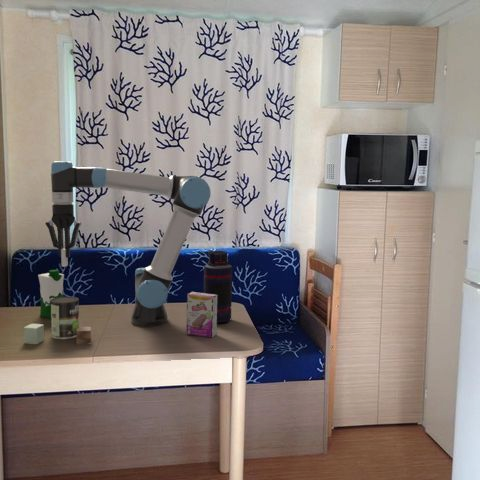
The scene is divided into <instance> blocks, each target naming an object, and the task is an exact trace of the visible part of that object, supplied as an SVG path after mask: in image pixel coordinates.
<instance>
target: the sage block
mask: <svg viewBox="0 0 480 480" xmlns="http://www.w3.org/2000/svg"><path fill="white" fill-rule="evenodd" d="M44 327H45V325H44V324H41V323H29V324H28V325H26V326H24V327H23V334H24V335H23V337H24V338H23V339H24V340H23V341H24V344H29V345H30V344H31V345H38V344H40V343H41V342H43V341H45V328H44Z"/></svg>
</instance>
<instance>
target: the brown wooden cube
mask: <svg viewBox="0 0 480 480" xmlns="http://www.w3.org/2000/svg"><path fill="white" fill-rule="evenodd" d="M76 332H77V337H76V345H86V344H87V345H89V344H88V343H91V344H92V327H91V326H79V327H77V331H76Z"/></svg>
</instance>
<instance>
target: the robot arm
mask: <svg viewBox="0 0 480 480" xmlns="http://www.w3.org/2000/svg"><path fill="white" fill-rule="evenodd" d="M50 177H51V181H50V183H51V198H52V199H51V203H52V207H51V208H52V209H51V210H52V216H51V219H50V220H49V221H46V222H45V226H46V227H47V229H48V232H49V235H50V240H51V242H52V246H53V248H56V249H57V250H58V257H59V258H61V260H60V261H61V267H64V268H65V267H68V265H69V261H68V260H69V259H68V258H70V256H71V248H74V247H75V246H76V241H77V238H78V232H79V229H80V227H81V226H82V222H81V221H78V220H76V218H75V211H74V209H75V208H74V204H73V203H74V188H85V189H87V188H90V189H91V188H94V189H99V188H105V189H111V190H112V189H113V190H120V191H128V192H136V193H142V194H150V195H156V196H163V197H164V196H165V197H167V198H168V199H169V200H173V202H172V207H173V212H172V214H171V216H170V218H169V222H168V223H167V226H166V228H165V230H164V233H163V234H162V237H161V240H160V242H159V245H158V247H157V249H156V251H155V254H154V257H153V259H152V261H151V264H150V265H148V266H146V267H139V268H136V269H135V271H134V273H135V274H134V279H135V281H134V282H135V283H134V286H135V290H134V292H135V298H134V301H135V302H134V307H133V310H132V313H131V316H130V317H131V318H130V319H131V321H130V323H131V324H132V325H134V326H139V327H145V328H146V327H158V326H162V325H165V324H166V323H168V320H169V319H168V314H167V310H166V307H165V303H166V301H167V300H168V295H169V293H168V292H169V289H170V287H171V283H172V282H173V276H172V272H173V270H174V267H175V265H176V263H177V260H178V257H179V255H180V253H181V251H182V249H183V247H184V244H185V242H186V239H187V237H188V235H189V233H190V230H191V228H192V225H193V223H194V221H195V219H196V218H198V217H199V216H201V214H202V212H203V209H204V207H205V206H206V205H207V204H208V203H209V201H210V199H211V195H212V194H211V187H210V185H209V183H208V182H207V181H206V180H205V179H203V178H202V177H200V176H195V175H184V176H183V175H181V176H180V175H170V176H169V177H168V176H161V175H153V174H147V173H138V172H131V171H125V170H124V171H123V170H117V169H111V168H104V167H99V166H87V167H82V166H79V167H78V166H74V165H73V162H72V161H53V162H52V163H51V173H50ZM72 225H73V226H74V227H73V228H72V229H73V231H72V233H71V227H72ZM54 226H55V227H56V230H55V227H54ZM56 231H57V233H56Z"/></svg>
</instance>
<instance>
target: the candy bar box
mask: <svg viewBox="0 0 480 480" xmlns="http://www.w3.org/2000/svg"><path fill="white" fill-rule="evenodd" d="M217 325H218V322H217V295H214V294H206V293H204V292H196V291H191V292H189V293H187V295H186V329H185V330H186V334H185V335H190V336H197V337H201V338H202V337H203V338H210V339H212V338H213V339H214V338H215V336H216V335H217V333H218V332H217V331H218V330H217V327H218V326H217Z"/></svg>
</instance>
